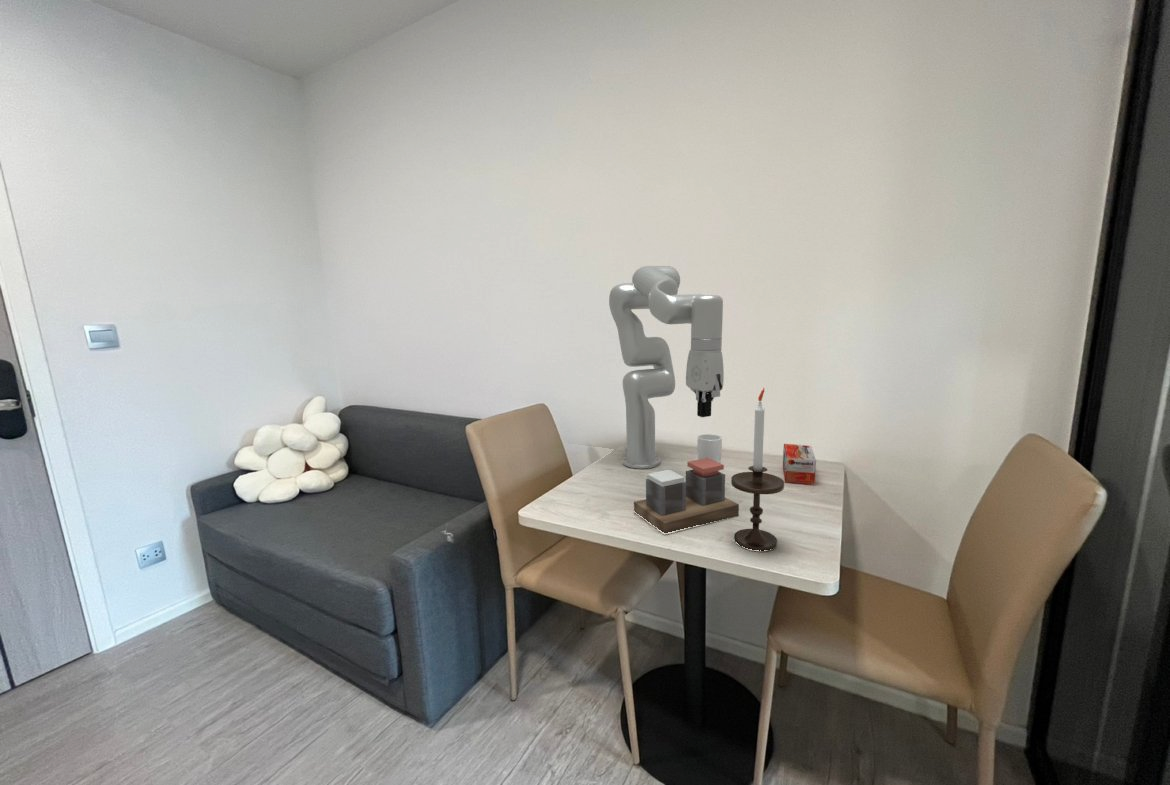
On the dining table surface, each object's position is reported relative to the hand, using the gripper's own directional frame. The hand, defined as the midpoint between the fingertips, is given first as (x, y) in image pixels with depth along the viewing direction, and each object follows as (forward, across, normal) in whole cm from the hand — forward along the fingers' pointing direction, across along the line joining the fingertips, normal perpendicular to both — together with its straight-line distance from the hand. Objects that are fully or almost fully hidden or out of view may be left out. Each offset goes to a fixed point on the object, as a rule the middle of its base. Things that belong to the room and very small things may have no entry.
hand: (704, 415), depth 125 cm
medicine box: (+24, -3, +38) cm, 45 cm away
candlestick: (+24, +23, -3) cm, 33 cm away
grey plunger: (+21, +4, -14) cm, 25 cm away
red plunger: (+20, +4, -2) cm, 20 cm away
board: (+24, +4, -8) cm, 26 cm away
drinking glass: (+24, -8, +9) cm, 27 cm away
